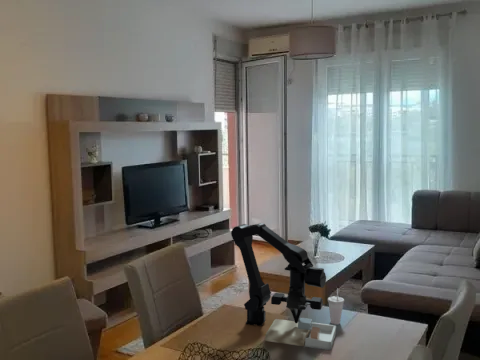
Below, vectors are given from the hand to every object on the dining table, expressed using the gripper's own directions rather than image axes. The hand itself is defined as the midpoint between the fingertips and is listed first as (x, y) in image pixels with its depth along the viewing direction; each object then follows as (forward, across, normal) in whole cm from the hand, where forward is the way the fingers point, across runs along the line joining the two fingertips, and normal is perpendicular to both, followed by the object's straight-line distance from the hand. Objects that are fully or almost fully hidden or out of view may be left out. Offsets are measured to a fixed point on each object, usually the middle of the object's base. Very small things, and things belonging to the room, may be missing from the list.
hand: (296, 322), depth 187 cm
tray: (+4, +10, -3) cm, 11 cm away
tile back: (+1, +3, 0) cm, 3 cm away
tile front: (+1, +7, -7) cm, 10 cm away
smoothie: (+4, +13, +14) cm, 19 cm away
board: (+4, -2, -3) cm, 5 cm away
